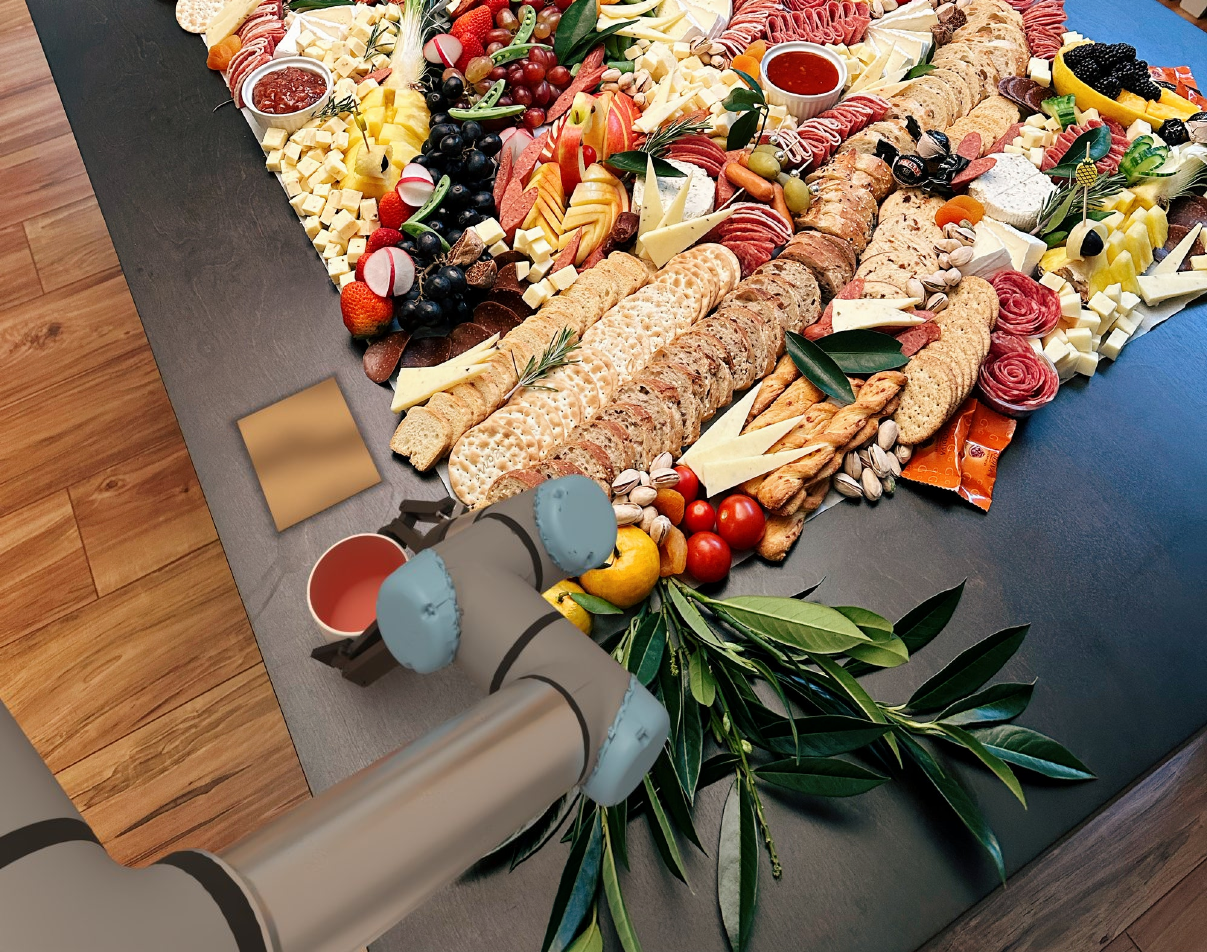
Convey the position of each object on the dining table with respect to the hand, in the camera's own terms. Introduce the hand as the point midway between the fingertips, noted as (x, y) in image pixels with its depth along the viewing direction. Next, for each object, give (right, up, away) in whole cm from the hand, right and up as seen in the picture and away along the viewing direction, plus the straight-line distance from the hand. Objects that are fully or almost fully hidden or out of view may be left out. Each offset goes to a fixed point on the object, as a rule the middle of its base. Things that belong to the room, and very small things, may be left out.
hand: (342, 604), depth 114 cm
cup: (+3, -3, +2) cm, 5 cm away
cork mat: (-8, +10, +19) cm, 23 cm away
